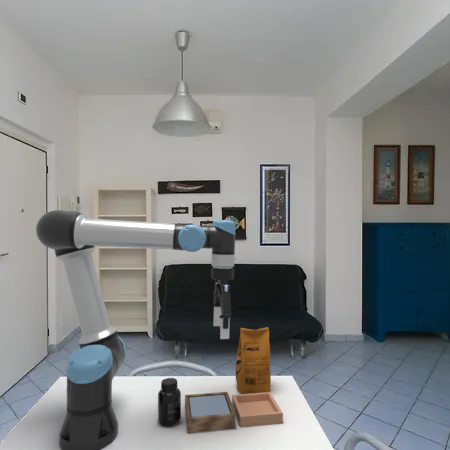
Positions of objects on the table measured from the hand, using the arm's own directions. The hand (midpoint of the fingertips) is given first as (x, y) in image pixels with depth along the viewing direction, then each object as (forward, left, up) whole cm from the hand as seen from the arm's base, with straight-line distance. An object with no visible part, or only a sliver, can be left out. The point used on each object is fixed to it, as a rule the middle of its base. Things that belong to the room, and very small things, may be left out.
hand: (220, 331), depth 110 cm
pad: (-5, -6, -22) cm, 23 cm away
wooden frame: (-5, -6, -24) cm, 25 cm away
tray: (+10, -6, -24) cm, 27 cm away
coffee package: (+13, +10, -24) cm, 30 cm away
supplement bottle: (-17, -6, -24) cm, 30 cm away
